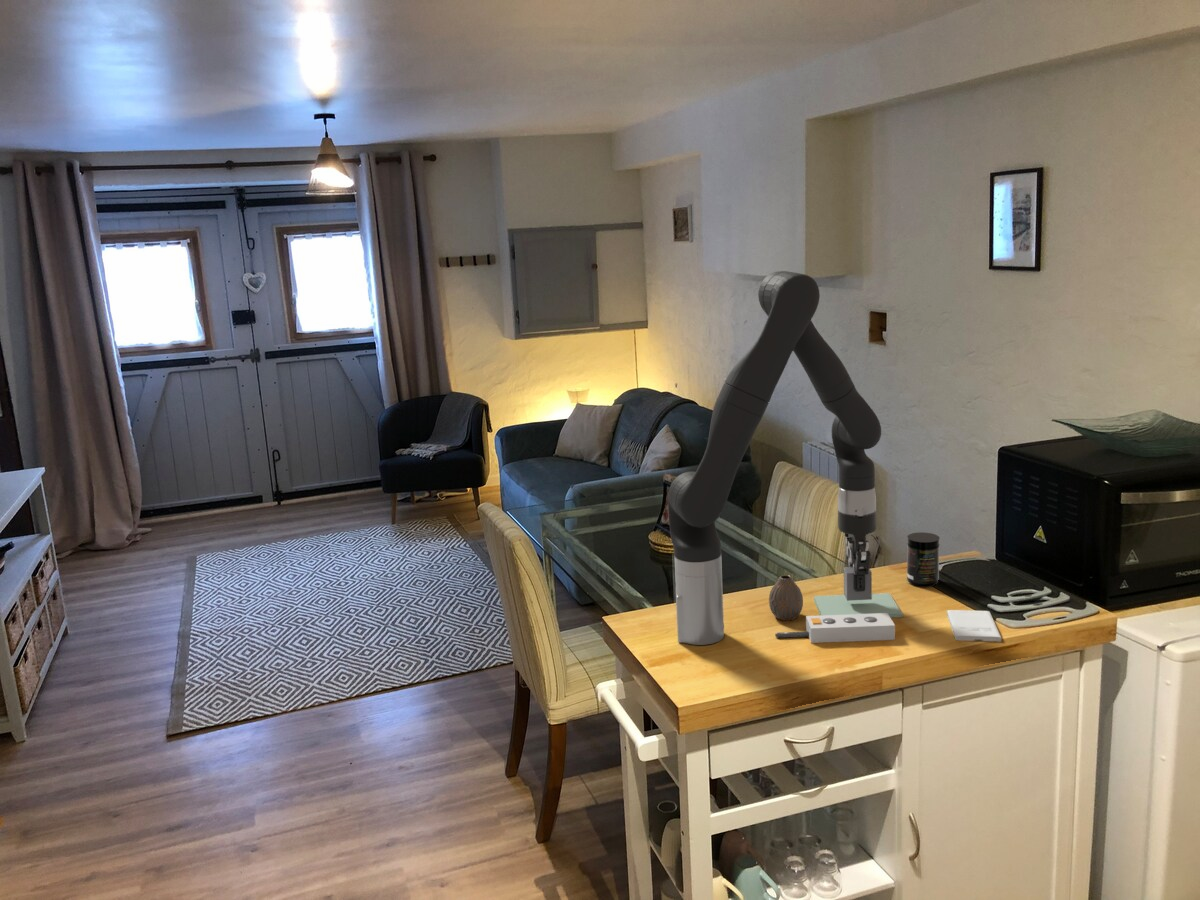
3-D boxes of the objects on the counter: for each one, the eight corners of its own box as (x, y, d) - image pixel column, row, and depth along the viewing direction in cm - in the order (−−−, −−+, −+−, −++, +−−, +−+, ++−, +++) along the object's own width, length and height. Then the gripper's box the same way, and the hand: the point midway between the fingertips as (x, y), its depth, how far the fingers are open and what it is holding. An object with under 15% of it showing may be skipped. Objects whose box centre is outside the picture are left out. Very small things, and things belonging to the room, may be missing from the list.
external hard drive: (989, 618, 199) (1001, 644, 187) (946, 617, 201) (955, 642, 189) (989, 610, 199) (1001, 636, 187) (947, 609, 200) (955, 634, 188)
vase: (800, 624, 200) (800, 584, 198) (766, 622, 202) (765, 581, 200) (805, 611, 206) (804, 571, 204) (772, 609, 208) (771, 570, 206)
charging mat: (822, 620, 201) (822, 616, 201) (813, 599, 212) (813, 596, 212) (902, 617, 200) (902, 613, 200) (889, 596, 211) (889, 593, 211)
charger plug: (847, 600, 204) (846, 572, 203) (843, 594, 208) (843, 566, 206) (871, 599, 204) (871, 571, 202) (867, 592, 207) (867, 565, 206)
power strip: (777, 644, 192) (776, 628, 191) (773, 631, 198) (773, 615, 197) (894, 639, 190) (895, 623, 190) (887, 627, 196) (887, 611, 195)
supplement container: (945, 584, 216) (946, 538, 213) (920, 590, 214) (920, 544, 211) (925, 574, 222) (925, 530, 220) (900, 580, 220) (900, 535, 217)
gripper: (832, 498, 208) (833, 575, 212) (844, 519, 194) (845, 601, 198) (868, 497, 208) (868, 574, 212) (883, 517, 194) (883, 599, 198)
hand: (857, 586), depth 205 cm, fingers closed on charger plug, 3 cm apart
